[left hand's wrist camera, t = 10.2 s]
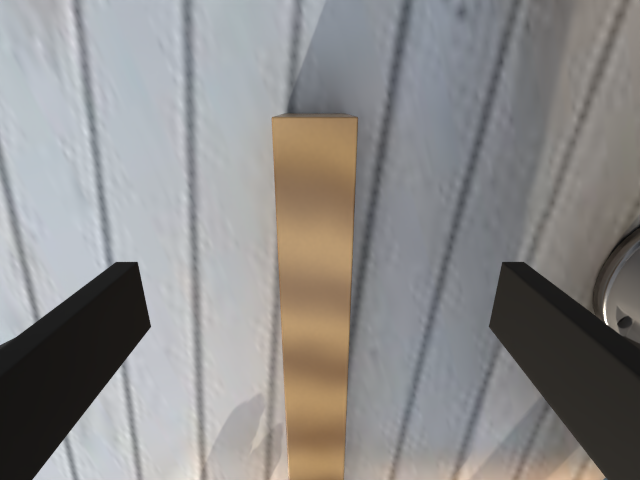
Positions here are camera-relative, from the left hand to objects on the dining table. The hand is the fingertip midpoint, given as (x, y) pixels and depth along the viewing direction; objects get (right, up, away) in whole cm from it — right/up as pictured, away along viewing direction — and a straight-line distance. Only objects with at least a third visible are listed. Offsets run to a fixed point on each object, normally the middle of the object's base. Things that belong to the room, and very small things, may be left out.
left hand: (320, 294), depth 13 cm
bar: (0, -24, +29) cm, 38 cm away
